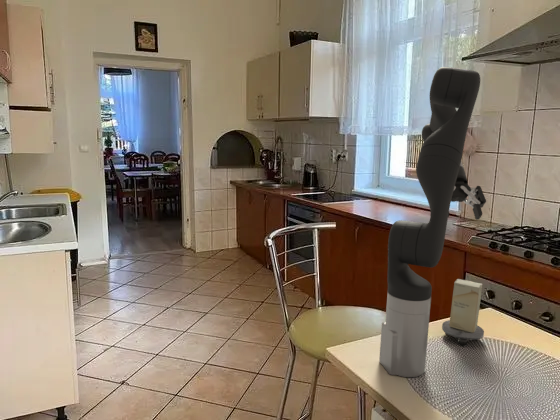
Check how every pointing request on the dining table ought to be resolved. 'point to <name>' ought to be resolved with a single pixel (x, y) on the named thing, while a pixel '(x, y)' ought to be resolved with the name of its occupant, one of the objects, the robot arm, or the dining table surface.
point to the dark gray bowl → (462, 333)
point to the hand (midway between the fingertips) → (462, 217)
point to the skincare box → (465, 305)
